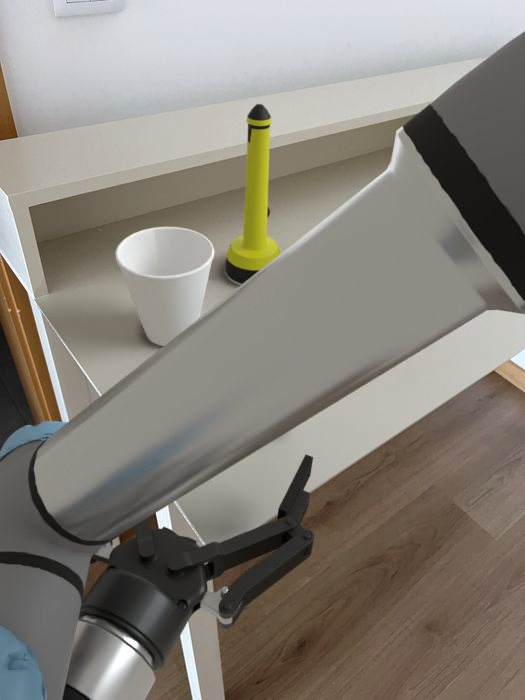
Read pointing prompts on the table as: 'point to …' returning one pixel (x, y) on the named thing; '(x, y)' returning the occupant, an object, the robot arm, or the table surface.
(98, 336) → the table surface
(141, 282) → the cup
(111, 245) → the table surface
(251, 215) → the flashlight
